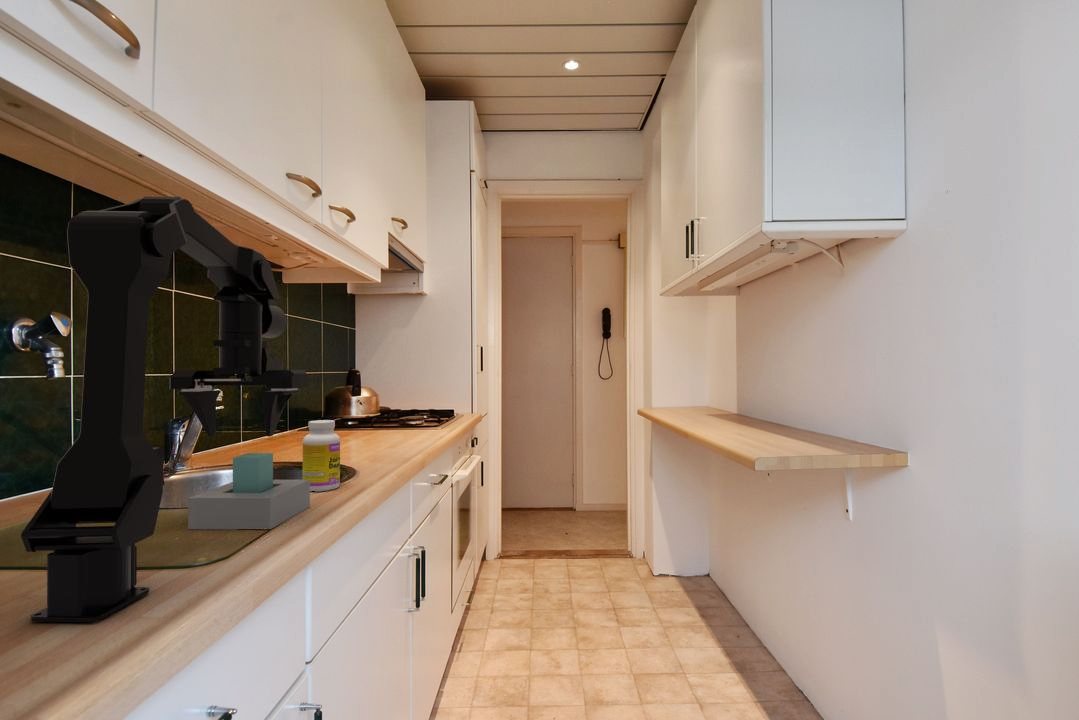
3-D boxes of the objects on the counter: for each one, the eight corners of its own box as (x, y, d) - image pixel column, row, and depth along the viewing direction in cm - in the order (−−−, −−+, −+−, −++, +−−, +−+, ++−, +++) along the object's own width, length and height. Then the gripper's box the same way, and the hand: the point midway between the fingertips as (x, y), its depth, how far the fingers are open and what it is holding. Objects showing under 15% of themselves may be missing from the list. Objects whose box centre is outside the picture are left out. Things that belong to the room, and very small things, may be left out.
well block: (269, 529, 75) (269, 498, 75) (188, 529, 75) (188, 497, 75) (309, 506, 87) (309, 479, 87) (239, 506, 87) (239, 479, 87)
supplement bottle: (331, 492, 96) (331, 423, 96) (295, 492, 96) (295, 423, 97) (345, 484, 103) (345, 419, 103) (312, 484, 103) (312, 419, 103)
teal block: (258, 517, 79) (258, 457, 79) (232, 517, 79) (232, 457, 79) (273, 509, 83) (272, 453, 83) (248, 509, 83) (248, 453, 83)
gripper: (324, 337, 88) (324, 430, 87) (216, 338, 88) (216, 430, 88) (290, 332, 76) (289, 439, 76) (167, 333, 77) (166, 439, 77)
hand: (240, 436), depth 80 cm, fingers open, 9 cm apart
